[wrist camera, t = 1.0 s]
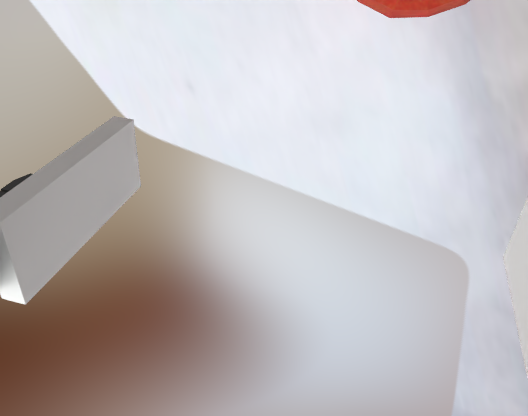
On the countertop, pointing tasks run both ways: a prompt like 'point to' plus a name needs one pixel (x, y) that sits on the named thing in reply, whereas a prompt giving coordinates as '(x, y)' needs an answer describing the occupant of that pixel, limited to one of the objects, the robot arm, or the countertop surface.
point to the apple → (412, 7)
